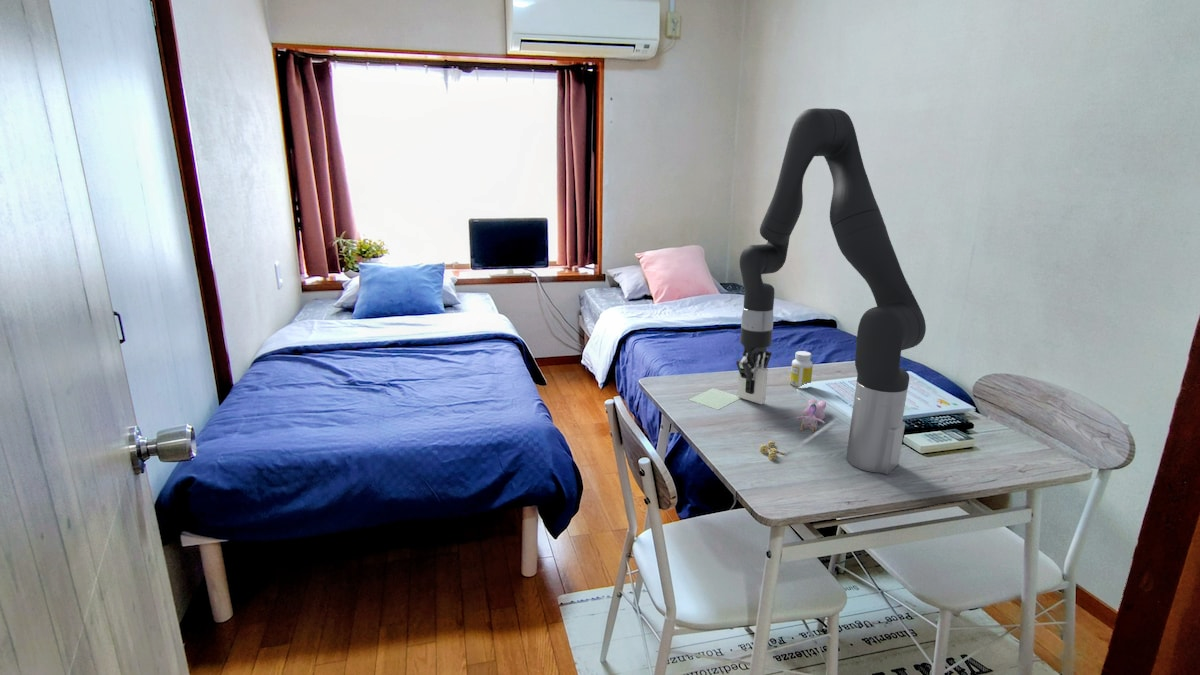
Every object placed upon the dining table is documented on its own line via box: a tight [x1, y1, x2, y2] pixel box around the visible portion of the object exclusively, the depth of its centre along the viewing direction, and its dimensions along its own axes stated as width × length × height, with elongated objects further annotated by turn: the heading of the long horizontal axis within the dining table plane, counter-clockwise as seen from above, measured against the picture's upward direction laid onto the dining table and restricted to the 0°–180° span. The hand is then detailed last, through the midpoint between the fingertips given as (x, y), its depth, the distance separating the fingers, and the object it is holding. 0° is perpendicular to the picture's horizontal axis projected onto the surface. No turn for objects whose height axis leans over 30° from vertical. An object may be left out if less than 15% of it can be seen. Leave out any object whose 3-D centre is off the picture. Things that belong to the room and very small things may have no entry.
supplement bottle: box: [789, 350, 814, 390], centre depth 162 cm, size 5×5×10 cm
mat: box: [688, 387, 742, 411], centre depth 153 cm, size 18×16×1 cm
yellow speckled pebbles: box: [759, 440, 786, 461], centre depth 127 cm, size 5×5×2 cm
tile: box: [736, 366, 769, 405], centre depth 151 cm, size 7×2×9 cm, turn 45°
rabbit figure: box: [796, 398, 827, 435], centre depth 141 cm, size 6×6×15 cm
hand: (751, 391), depth 152 cm, fingers closed on tile, 1 cm apart
